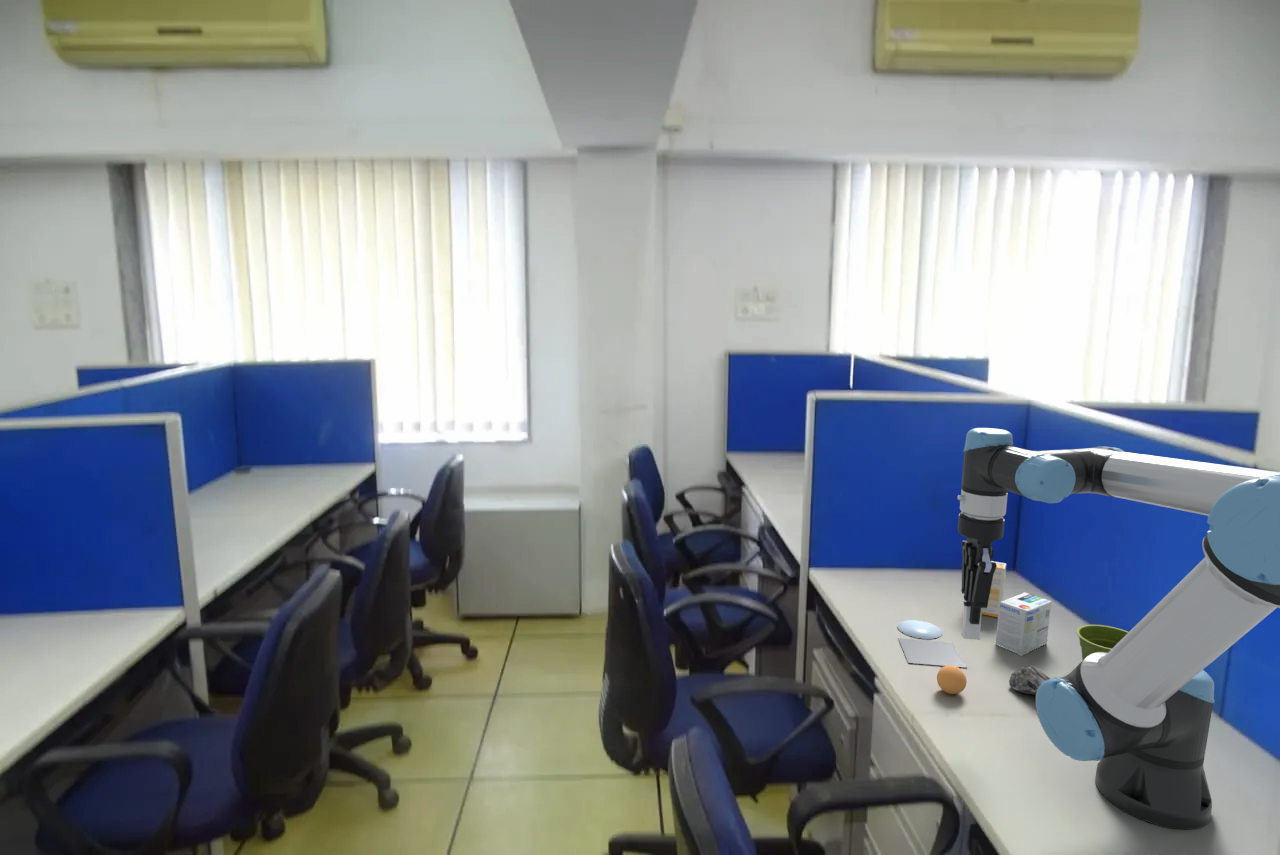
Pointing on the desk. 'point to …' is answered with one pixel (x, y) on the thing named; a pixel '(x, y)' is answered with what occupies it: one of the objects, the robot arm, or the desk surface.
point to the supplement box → (996, 590)
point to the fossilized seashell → (1027, 680)
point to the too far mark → (919, 629)
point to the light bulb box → (1023, 623)
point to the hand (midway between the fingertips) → (970, 637)
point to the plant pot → (1098, 638)
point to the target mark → (931, 652)
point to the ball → (951, 679)
